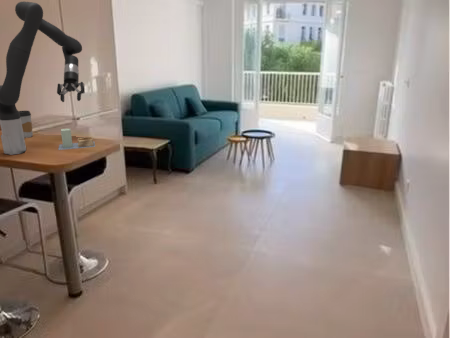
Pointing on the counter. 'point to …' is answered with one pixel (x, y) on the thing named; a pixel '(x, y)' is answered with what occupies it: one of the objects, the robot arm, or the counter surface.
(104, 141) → the counter surface
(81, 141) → the socket block
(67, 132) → the pillar
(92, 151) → the counter surface
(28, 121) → the coffee cup
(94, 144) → the blueprint board
